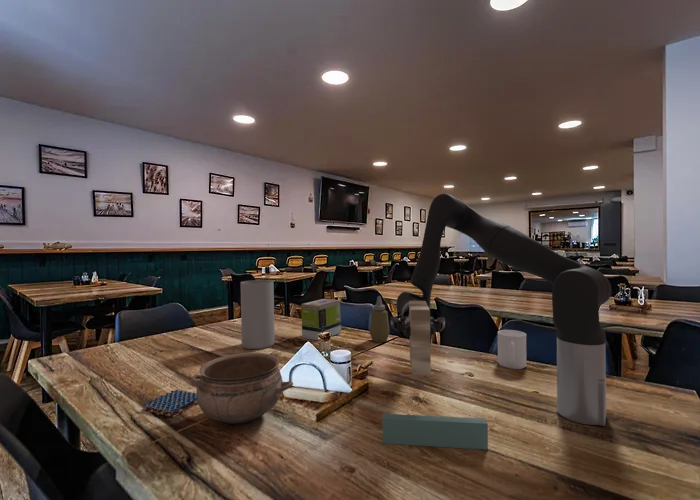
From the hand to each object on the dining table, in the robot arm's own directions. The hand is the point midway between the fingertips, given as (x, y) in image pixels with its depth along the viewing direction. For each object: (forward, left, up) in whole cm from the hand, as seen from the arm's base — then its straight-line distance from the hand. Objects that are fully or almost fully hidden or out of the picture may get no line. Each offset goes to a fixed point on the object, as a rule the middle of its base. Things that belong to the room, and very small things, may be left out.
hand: (419, 331), depth 79 cm
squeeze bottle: (+42, -47, -20) cm, 66 cm away
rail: (-6, +8, -20) cm, 22 cm away
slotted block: (+1, -2, -9) cm, 9 cm away
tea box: (+67, -40, -20) cm, 80 cm away
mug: (-8, -46, -20) cm, 51 cm away
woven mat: (+53, +30, -20) cm, 64 cm away
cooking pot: (+34, +24, -20) cm, 46 cm away
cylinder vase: (+78, -15, -20) cm, 82 cm away
